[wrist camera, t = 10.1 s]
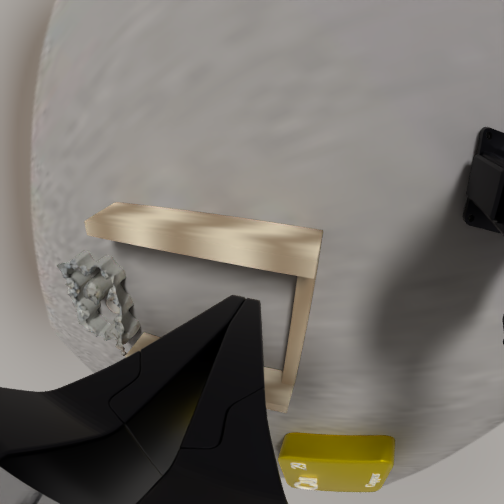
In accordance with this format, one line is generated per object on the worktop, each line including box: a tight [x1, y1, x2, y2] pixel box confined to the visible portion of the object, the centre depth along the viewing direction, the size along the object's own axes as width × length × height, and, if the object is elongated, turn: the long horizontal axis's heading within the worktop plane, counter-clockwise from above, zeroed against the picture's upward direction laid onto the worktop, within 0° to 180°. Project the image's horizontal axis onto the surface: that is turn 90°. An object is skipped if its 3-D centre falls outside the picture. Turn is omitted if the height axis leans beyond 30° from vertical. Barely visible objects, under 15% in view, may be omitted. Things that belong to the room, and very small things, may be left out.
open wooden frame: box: [84, 202, 323, 413], centre depth 24 cm, size 17×16×4 cm
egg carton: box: [57, 251, 140, 356], centre depth 29 cm, size 11×8×4 cm
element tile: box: [278, 432, 395, 492], centre depth 33 cm, size 15×15×5 cm
